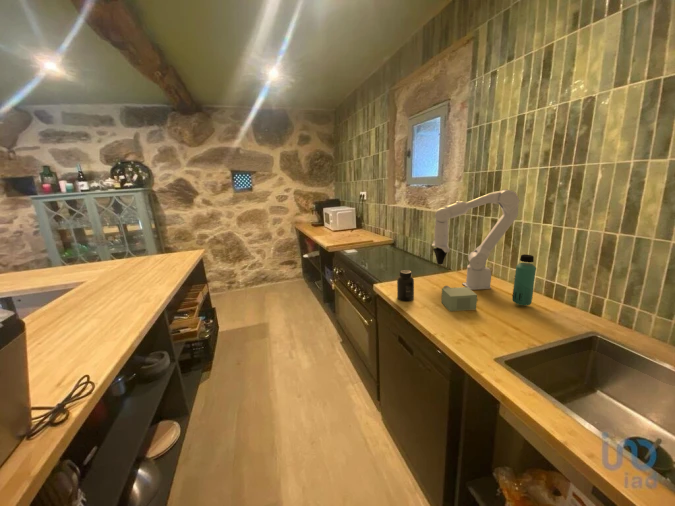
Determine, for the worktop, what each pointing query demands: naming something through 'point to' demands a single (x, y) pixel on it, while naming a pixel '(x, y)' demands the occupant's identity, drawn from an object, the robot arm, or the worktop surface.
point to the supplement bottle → (405, 286)
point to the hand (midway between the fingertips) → (439, 263)
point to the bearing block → (459, 299)
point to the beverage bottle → (524, 281)
